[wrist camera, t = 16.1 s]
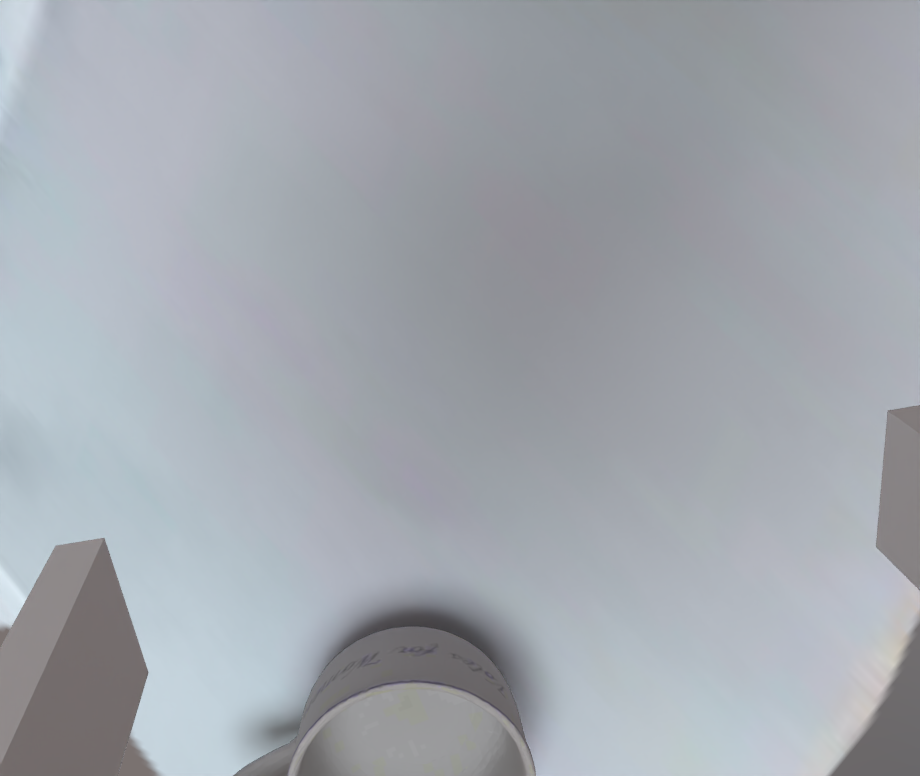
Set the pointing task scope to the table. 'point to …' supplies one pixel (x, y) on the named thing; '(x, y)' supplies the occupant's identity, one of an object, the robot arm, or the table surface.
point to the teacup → (406, 713)
